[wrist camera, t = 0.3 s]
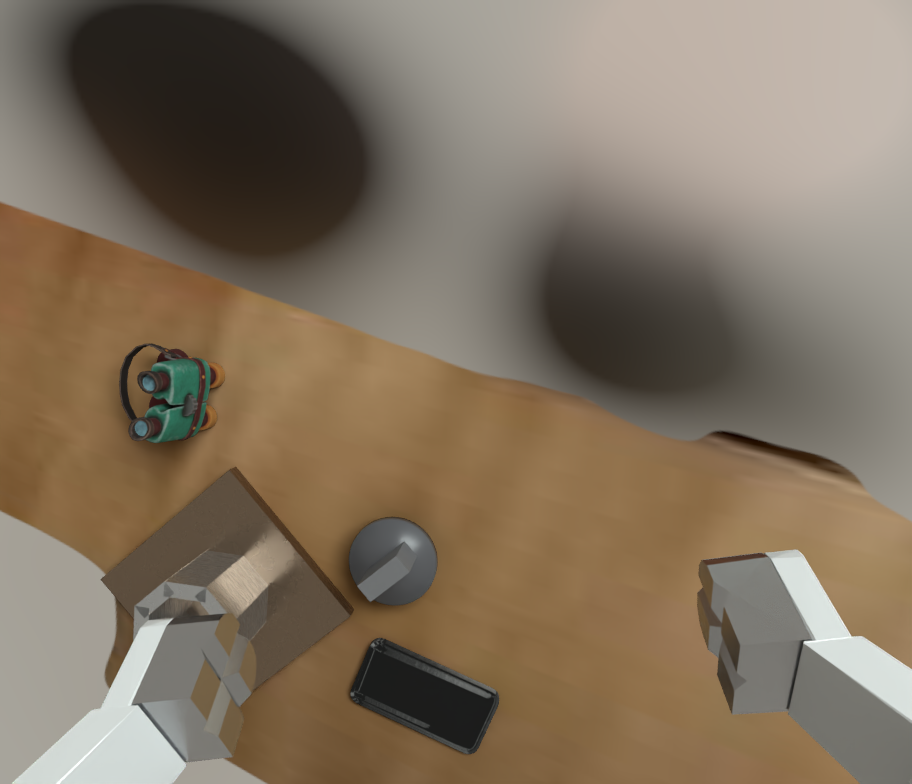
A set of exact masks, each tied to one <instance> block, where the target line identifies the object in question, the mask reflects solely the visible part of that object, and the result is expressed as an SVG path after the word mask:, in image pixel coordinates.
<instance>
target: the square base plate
mask: <svg viewBox="0 0 912 784" xmlns="http://www.w3.org/2000/svg"><path fill="white" fill-rule="evenodd" d="M101 580H102V582H103V583H104V584H105V585H106V586H107V588H108V589H109V590H110V591H111V592H112V594H113V595H114V596H115V597H116V598H117V600H118V601H119V602H120V603H121V604H122V606H123V607H124V608H125V609H126V610H127V611H128V613H129V614H130V615H131V616H132V617H133V619H134V637H133V641H134V639H135V637H136V635H137V633H138V631H139V629H140V628H141V627H142V626H143V625H144V624H145V623H146V622H147V621H148V620H156V619H166V618H176V617H188V616H201V615H213V614H225V613H233V614H234V616H235V618H236V619H237V621H238V622H239V624H240V626H239V629H238V632H237V633H238V634H240V635H241V636H243V637H245V638H247V639H249V641H250V642H251V644H252V646H253V648H254V651H255V656H256V660H257V661H256V679H255V682H254V686H253V690H254V689H256V688H257V687H258V686H259V685H261V684H262V683H263V682H265V681H266V680H267V679H269V678H270V677H271V676H273V675H274V674H275V673H276V672H278V671H279V670H280V669H282V668H283V667H284V666H286V665H287V664H288V663H290V662H291V661H292V660H294V659H295V658H296V657H297V656H299V655H300V654H301V653H303V652H304V651H305V650H307V649H308V648H309V647H311V646H312V645H313V644H314V643H316V642H317V641H318V640H320V639H321V638H322V637H324V636H325V635H326V634H328V633H329V632H330V631H331V630H333V629H334V628H335V627H337V626H338V625H339V624H341V623H342V622H343V621H345V620H346V619H347V618H348V617H350V616H351V614H352V612H353V611H354V609H353V608H352V606H351V605H350V604H349V603H348V602H347V600H346V599H345V598H344V597H343V596H342V594H341V593H340V592H339V591H338V590H337V588H336V587H335V586H334V585H333V583H332V582H331V581H330V580H329V579H328V577H327V576H326V575H325V574H324V573H323V571H322V570H321V569H320V568H319V567H318V565H317V564H316V563H315V562H314V561H313V559H312V558H311V557H310V556H309V555H308V553H307V552H306V551H305V550H304V548H303V547H302V546H301V545H300V544H299V542H298V541H297V540H296V539H295V538H294V536H293V535H292V534H291V533H290V532H289V530H288V529H287V528H286V527H285V526H284V524H283V523H282V522H281V521H280V520H279V518H278V517H277V516H276V515H275V513H274V512H273V511H272V510H271V509H270V507H269V506H268V505H267V504H266V503H265V501H264V500H263V499H262V498H261V497H260V495H259V494H258V493H257V492H256V491H255V489H254V488H253V487H252V486H251V485H250V483H249V482H248V481H247V480H246V478H245V477H244V476H243V475H242V474H241V472H240V471H239V470H238V469H237V468H236V467H234V468H232V469H230V470H229V471H228V472H226V473H225V474H224V475H223V476H222V477H221V478H219V479H218V480H217V481H216V482H215V483H213V484H212V485H211V486H210V487H209V488H208V489H206V490H205V491H204V492H203V493H202V494H201V495H199V496H198V497H197V498H196V499H195V500H193V501H192V502H191V503H190V504H189V505H188V506H186V507H185V508H184V509H183V510H182V511H181V512H179V513H178V514H177V515H176V516H175V517H173V518H172V519H171V520H170V521H169V522H168V523H166V524H165V525H164V526H163V527H162V528H161V529H159V530H158V531H157V532H156V533H155V534H153V535H152V536H151V537H150V538H149V539H148V540H146V541H145V542H144V543H143V544H142V545H141V546H139V547H138V548H137V549H136V550H135V551H133V552H132V553H131V554H130V555H129V556H128V557H126V558H125V559H124V560H123V561H122V562H121V563H119V564H118V565H117V566H116V567H115V568H113V569H112V570H111V571H110V572H109V573H108V574H106V575H105V576H104V577H103V578H102V579H101ZM253 690H252V691H253Z"/></svg>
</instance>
